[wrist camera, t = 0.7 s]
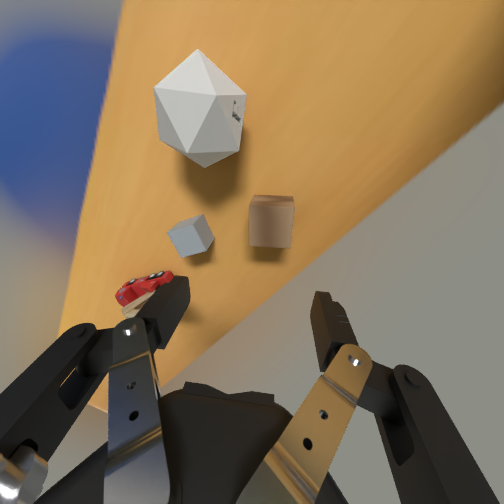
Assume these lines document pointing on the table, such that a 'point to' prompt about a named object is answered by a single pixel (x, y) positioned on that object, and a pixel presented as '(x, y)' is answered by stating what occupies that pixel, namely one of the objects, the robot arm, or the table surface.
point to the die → (200, 111)
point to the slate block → (191, 236)
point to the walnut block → (271, 221)
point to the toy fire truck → (140, 292)
